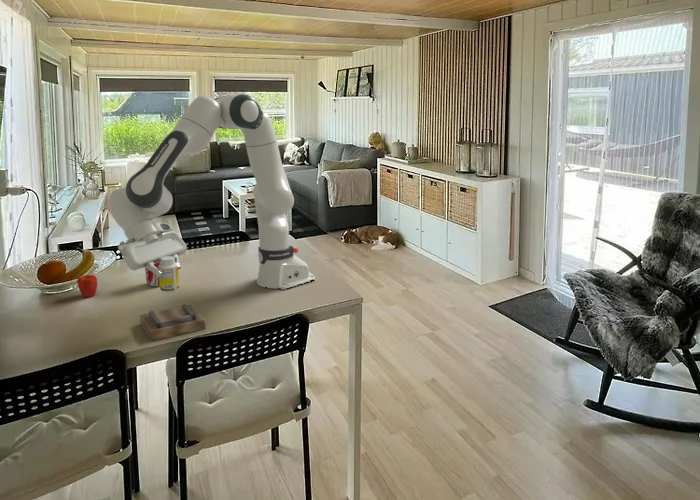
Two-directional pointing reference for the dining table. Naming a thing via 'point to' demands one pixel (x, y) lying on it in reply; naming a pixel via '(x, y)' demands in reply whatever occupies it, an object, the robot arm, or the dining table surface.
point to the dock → (172, 322)
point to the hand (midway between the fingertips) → (170, 272)
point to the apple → (87, 285)
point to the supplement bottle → (169, 275)
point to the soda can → (152, 277)
